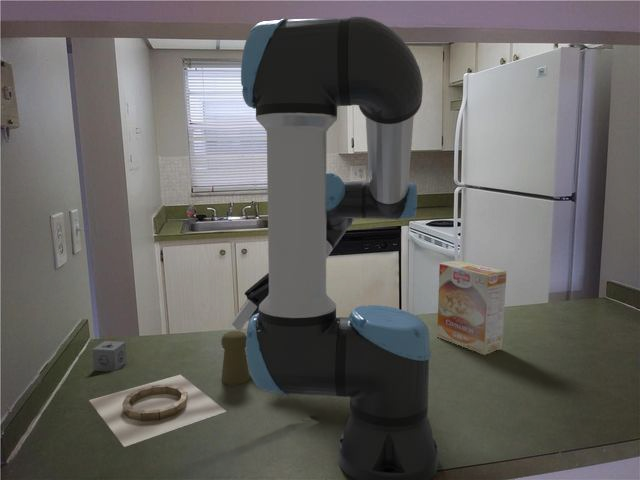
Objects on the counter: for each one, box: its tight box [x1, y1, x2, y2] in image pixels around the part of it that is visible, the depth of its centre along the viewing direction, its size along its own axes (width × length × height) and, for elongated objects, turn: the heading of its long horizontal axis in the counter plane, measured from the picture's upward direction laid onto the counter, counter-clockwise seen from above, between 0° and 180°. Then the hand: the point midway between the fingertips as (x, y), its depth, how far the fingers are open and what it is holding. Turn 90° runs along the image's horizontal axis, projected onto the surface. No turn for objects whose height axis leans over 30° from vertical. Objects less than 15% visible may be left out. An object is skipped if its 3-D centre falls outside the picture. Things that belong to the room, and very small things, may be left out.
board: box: [88, 374, 228, 448], centre depth 94 cm, size 20×18×1 cm
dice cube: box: [92, 340, 128, 373], centre depth 114 cm, size 5×5×5 cm
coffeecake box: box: [436, 259, 507, 355], centre depth 126 cm, size 15×7×20 cm, turn 33°
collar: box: [122, 384, 188, 421], centre depth 94 cm, size 11×11×2 cm
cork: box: [221, 330, 251, 386], centre depth 105 cm, size 6×6×11 cm
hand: (251, 336), depth 108 cm, fingers open, 13 cm apart
